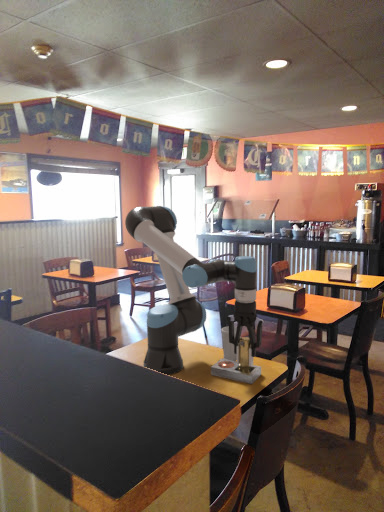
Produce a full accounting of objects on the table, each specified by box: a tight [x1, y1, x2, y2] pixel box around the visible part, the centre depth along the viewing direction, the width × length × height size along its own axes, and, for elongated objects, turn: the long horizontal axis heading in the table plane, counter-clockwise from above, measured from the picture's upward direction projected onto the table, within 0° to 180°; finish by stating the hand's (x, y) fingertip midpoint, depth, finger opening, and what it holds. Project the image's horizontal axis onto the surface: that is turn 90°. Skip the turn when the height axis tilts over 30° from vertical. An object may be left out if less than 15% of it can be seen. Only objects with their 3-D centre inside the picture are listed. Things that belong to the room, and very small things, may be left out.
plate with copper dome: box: [210, 358, 262, 385], centre depth 144 cm, size 16×9×3 cm, turn 60°
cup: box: [221, 326, 242, 362], centre depth 159 cm, size 8×8×12 cm
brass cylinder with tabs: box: [239, 336, 251, 373], centre depth 141 cm, size 6×4×14 cm, turn 153°
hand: (244, 363), depth 141 cm, fingers closed on brass cylinder with tabs, 4 cm apart
